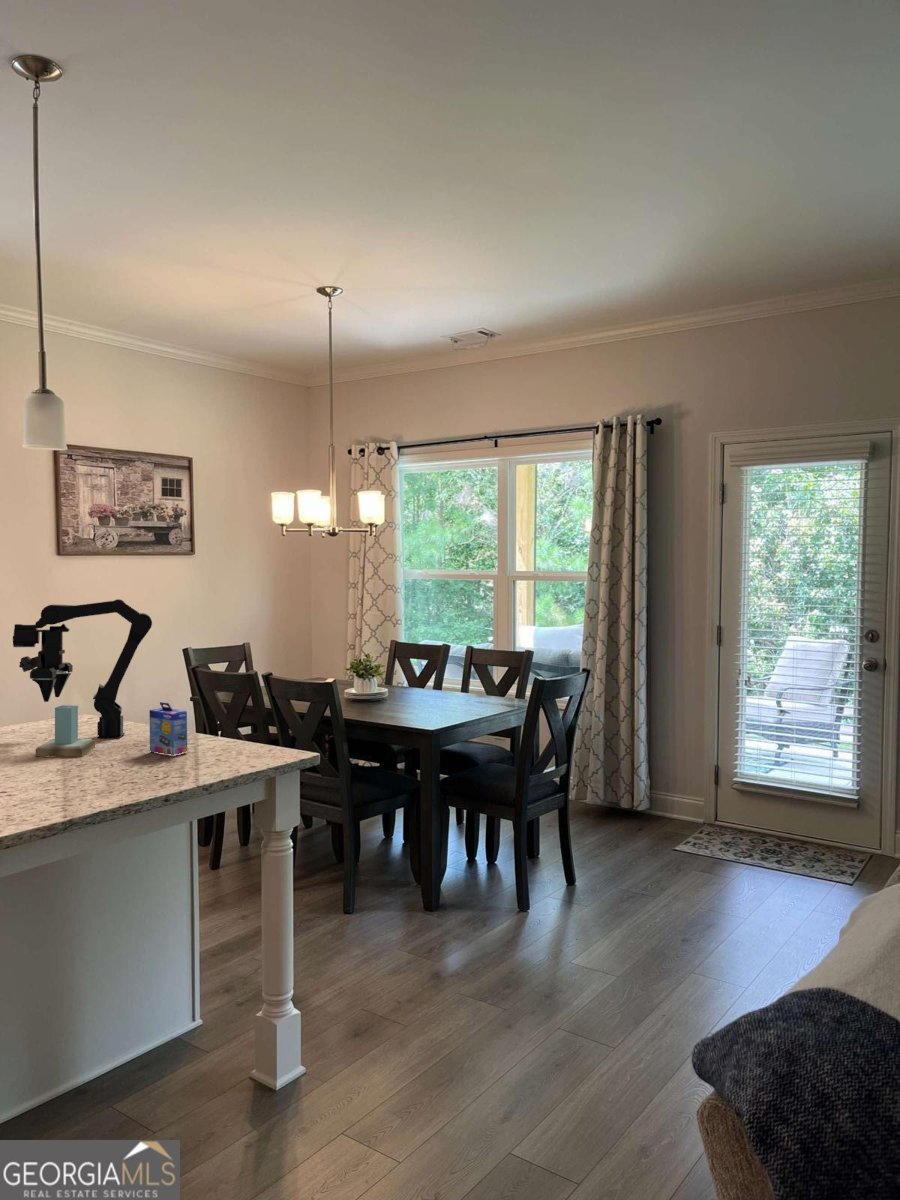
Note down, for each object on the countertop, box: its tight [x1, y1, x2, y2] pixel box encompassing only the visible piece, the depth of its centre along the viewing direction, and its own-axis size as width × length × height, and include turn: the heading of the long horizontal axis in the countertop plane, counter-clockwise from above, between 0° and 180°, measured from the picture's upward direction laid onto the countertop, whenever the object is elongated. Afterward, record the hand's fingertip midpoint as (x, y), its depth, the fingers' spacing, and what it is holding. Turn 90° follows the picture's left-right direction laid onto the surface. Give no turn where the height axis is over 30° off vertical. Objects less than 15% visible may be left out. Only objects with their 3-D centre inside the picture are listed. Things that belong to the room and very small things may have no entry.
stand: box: [35, 738, 96, 758], centre depth 241 cm, size 12×12×3 cm
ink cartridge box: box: [149, 702, 188, 755], centre depth 242 cm, size 10×6×14 cm, turn 59°
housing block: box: [54, 704, 79, 744], centre depth 241 cm, size 4×4×10 cm
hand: (51, 699), depth 258 cm, fingers open, 9 cm apart
